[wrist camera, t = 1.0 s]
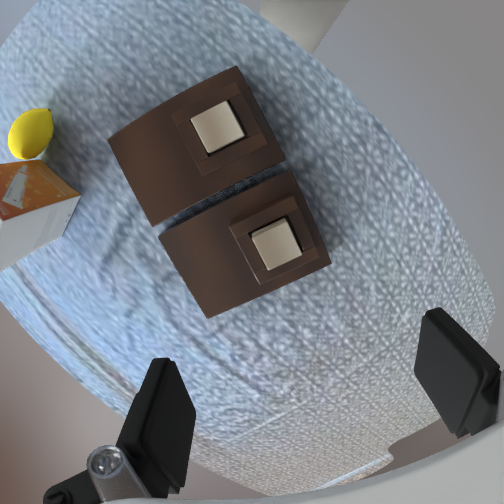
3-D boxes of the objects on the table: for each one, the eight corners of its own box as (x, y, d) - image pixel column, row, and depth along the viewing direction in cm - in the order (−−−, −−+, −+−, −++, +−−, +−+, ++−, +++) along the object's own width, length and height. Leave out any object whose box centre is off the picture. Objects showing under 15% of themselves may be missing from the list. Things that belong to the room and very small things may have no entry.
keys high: (287, 168, 28) (293, 170, 24) (326, 256, 31) (336, 270, 27) (163, 231, 30) (151, 242, 26) (209, 309, 32) (205, 328, 29)
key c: (227, 104, 23) (226, 100, 21) (244, 136, 23) (244, 134, 22) (194, 121, 23) (189, 118, 21) (210, 153, 24) (207, 153, 22)
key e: (284, 217, 26) (287, 221, 24) (299, 248, 27) (302, 254, 25) (251, 232, 26) (251, 238, 24) (267, 263, 27) (268, 270, 25)
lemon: (37, 169, 27) (8, 174, 22) (20, 137, 26) (-8, 139, 20) (72, 129, 26) (44, 127, 21) (54, 97, 24) (26, 91, 19)
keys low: (237, 71, 25) (235, 59, 21) (283, 159, 28) (288, 159, 24) (116, 139, 26) (98, 138, 23) (158, 222, 29) (146, 232, 26)
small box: (83, 194, 28) (3, 221, 16) (62, 238, 30) (-10, 281, 17) (40, 157, 26) (-41, 169, 14) (22, 201, 28) (-52, 227, 16)
